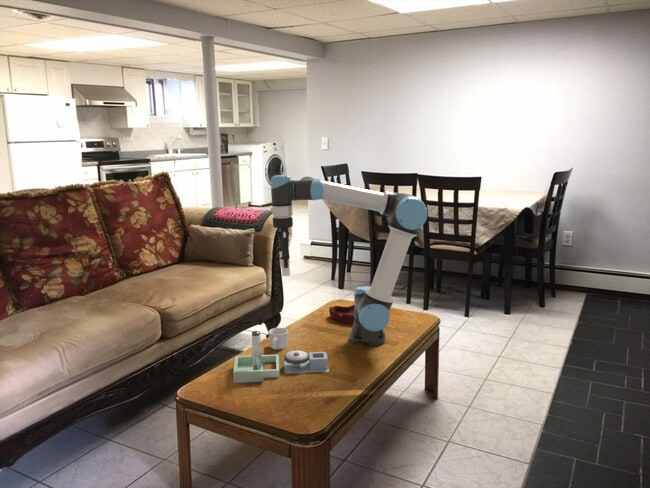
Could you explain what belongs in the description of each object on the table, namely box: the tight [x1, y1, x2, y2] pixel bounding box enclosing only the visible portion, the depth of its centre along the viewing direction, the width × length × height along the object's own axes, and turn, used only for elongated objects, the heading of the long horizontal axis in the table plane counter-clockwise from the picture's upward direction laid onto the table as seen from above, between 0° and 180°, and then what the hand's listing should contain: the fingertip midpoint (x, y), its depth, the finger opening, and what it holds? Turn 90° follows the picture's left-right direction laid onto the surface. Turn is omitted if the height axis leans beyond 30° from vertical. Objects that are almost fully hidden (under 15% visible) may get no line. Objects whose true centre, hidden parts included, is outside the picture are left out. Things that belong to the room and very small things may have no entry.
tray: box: [232, 354, 280, 384], centre depth 196 cm, size 16×14×4 cm
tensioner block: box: [283, 350, 330, 375], centre depth 199 cm, size 16×11×7 cm
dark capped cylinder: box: [251, 330, 262, 370], centre depth 195 cm, size 3×3×15 cm
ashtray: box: [328, 304, 354, 326], centre depth 253 cm, size 18×16×5 cm
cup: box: [268, 327, 289, 350], centre depth 216 cm, size 11×8×8 cm
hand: (284, 271), depth 207 cm, fingers open, 13 cm apart
